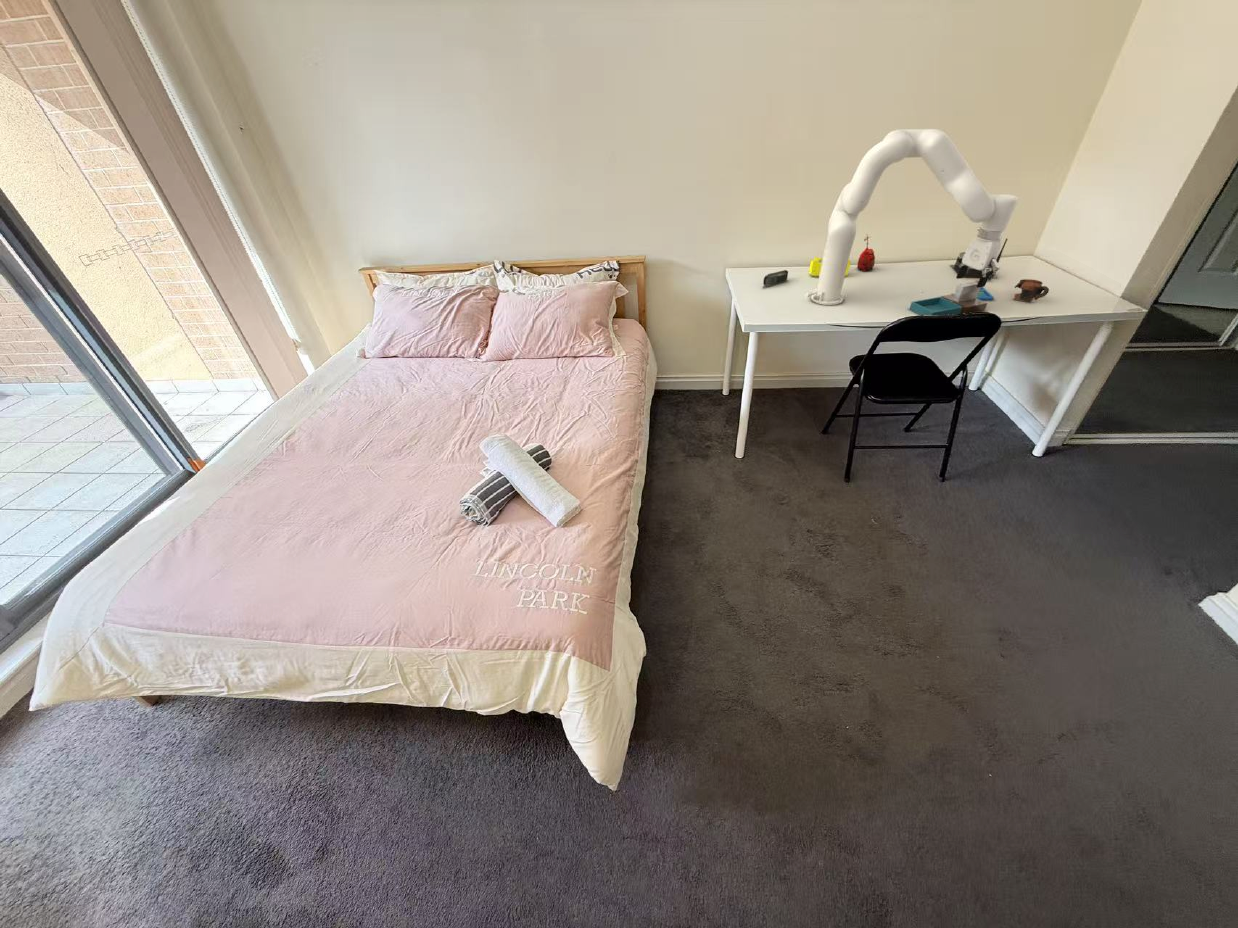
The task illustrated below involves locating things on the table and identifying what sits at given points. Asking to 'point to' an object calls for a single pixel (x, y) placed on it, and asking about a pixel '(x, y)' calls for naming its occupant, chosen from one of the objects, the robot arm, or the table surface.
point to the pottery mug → (1030, 290)
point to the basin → (935, 307)
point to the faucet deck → (968, 304)
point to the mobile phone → (775, 278)
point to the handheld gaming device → (984, 295)
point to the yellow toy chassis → (816, 267)
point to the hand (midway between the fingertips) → (969, 282)
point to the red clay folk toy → (866, 259)
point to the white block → (966, 291)
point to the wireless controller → (974, 272)
